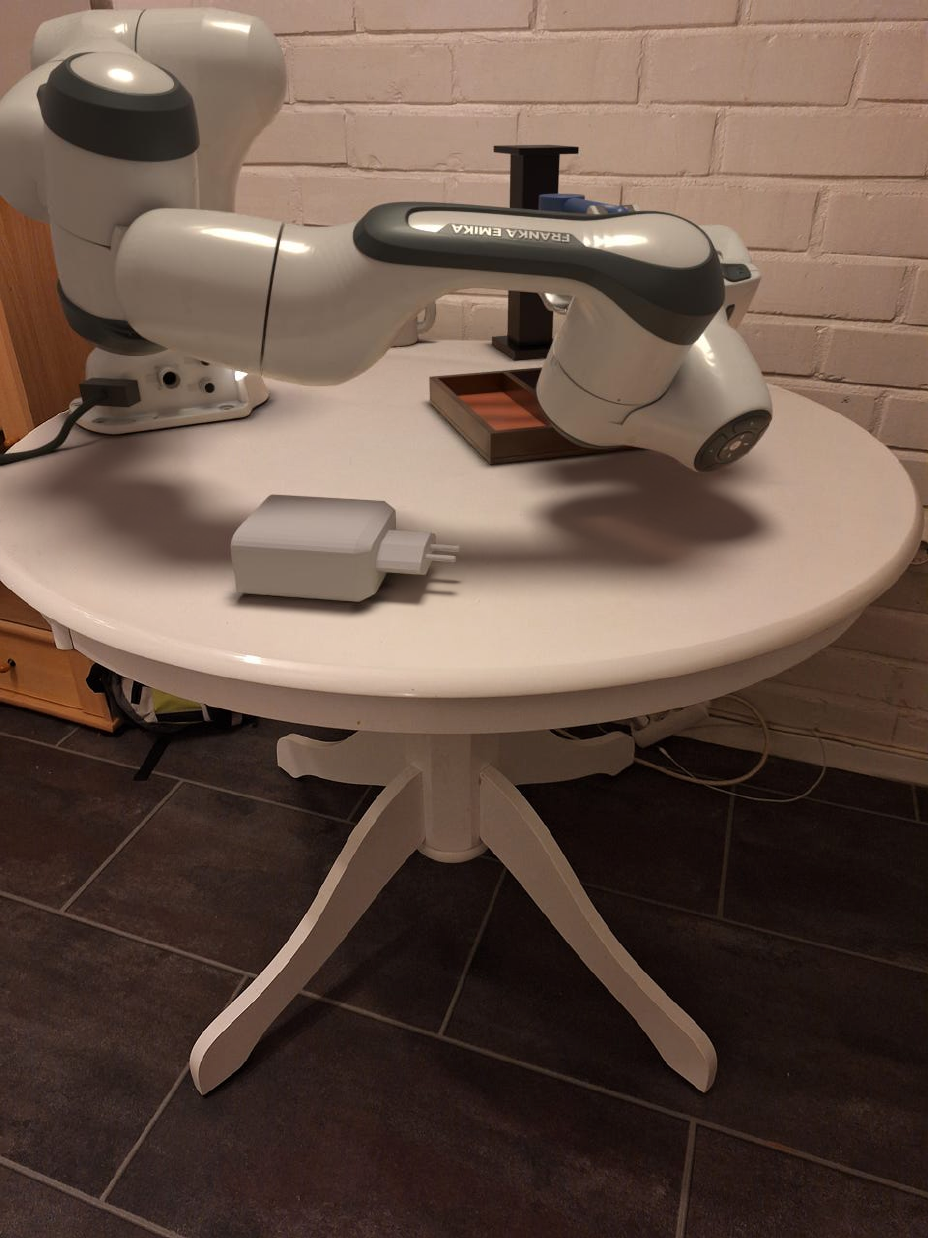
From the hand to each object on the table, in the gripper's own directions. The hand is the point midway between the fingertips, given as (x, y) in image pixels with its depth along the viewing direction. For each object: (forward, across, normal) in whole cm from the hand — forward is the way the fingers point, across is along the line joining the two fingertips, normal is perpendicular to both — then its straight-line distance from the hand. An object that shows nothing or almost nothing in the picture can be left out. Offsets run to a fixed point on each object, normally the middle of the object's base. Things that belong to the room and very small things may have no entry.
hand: (610, 211), depth 86 cm
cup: (+32, -9, -44) cm, 55 cm away
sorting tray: (-6, -4, -22) cm, 23 cm away
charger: (-33, -31, -6) cm, 46 cm away
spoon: (+4, 0, -4) cm, 6 cm away
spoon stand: (+23, +7, -38) cm, 45 cm away
